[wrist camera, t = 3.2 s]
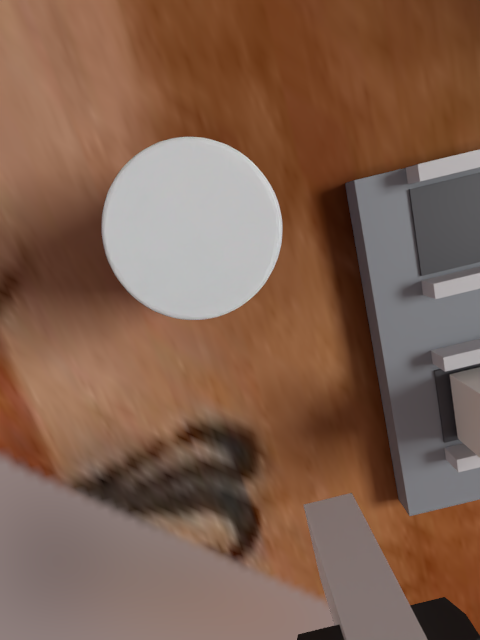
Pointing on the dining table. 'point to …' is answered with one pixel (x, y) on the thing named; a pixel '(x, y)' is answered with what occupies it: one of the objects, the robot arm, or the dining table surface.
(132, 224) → the pill bottle
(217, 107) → the dining table surface
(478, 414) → the fader cap
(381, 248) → the console
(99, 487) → the dining table surface
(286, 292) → the dining table surface
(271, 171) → the dining table surface
